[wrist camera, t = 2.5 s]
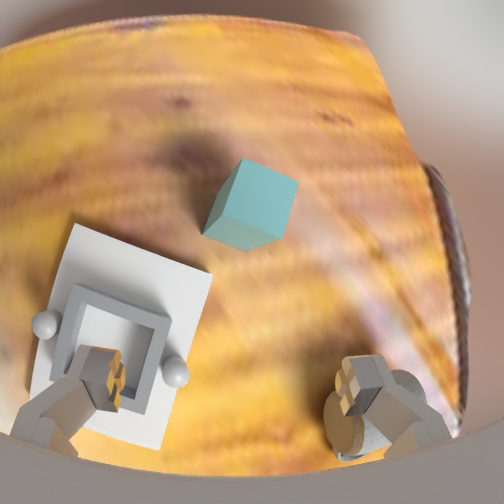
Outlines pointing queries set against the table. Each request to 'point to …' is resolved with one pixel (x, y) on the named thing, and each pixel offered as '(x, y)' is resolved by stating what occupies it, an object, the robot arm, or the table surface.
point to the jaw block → (251, 207)
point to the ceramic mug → (360, 423)
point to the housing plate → (122, 328)
